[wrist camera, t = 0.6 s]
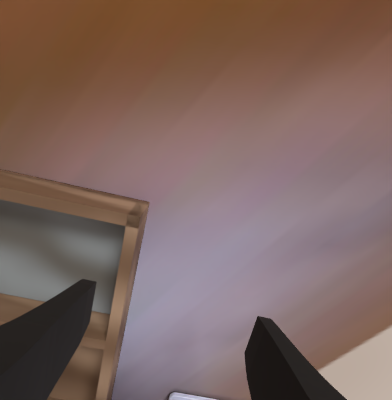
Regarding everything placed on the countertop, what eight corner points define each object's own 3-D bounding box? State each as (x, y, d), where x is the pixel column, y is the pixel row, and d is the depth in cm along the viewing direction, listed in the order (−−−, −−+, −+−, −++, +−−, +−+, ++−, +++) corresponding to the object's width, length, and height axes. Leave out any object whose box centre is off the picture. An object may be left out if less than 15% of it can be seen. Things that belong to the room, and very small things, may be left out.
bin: (110, 405, 26) (97, 447, 22) (-39, 379, 25) (-75, 419, 22) (149, 202, 21) (140, 217, 17) (-37, 161, 20) (-85, 168, 16)
